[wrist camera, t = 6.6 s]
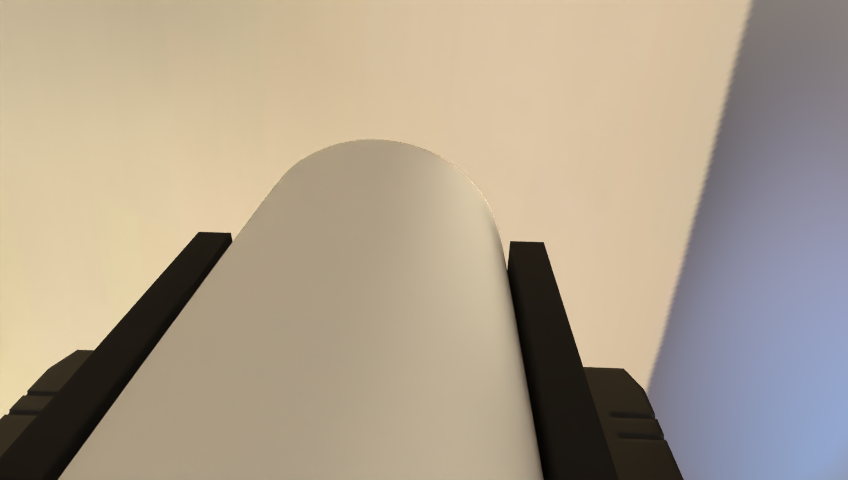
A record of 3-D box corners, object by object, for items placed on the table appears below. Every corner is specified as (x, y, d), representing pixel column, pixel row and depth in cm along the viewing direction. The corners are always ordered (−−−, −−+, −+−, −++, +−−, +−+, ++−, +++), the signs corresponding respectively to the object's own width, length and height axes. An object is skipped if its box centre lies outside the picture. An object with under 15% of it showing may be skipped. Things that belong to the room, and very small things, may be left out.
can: (344, 78, 12) (-279, 845, 2) (551, 228, 14) (858, 1085, 3) (223, 265, 15) (-309, 1012, 4) (409, 372, 17) (339, 1103, 6)
